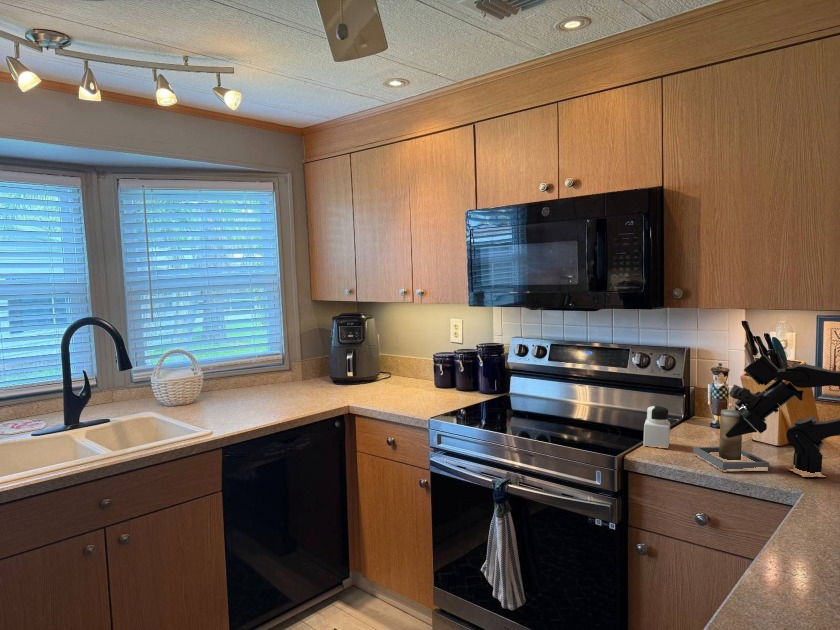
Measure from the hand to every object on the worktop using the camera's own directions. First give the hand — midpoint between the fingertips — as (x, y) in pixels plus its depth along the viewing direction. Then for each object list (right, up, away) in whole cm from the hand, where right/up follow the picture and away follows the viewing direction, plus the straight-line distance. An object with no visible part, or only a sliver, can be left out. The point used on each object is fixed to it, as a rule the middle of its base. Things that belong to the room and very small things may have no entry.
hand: (725, 433), depth 168 cm
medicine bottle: (-13, -7, +17) cm, 22 cm away
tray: (+1, -8, 0) cm, 8 cm away
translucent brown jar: (+1, -7, 0) cm, 7 cm away
